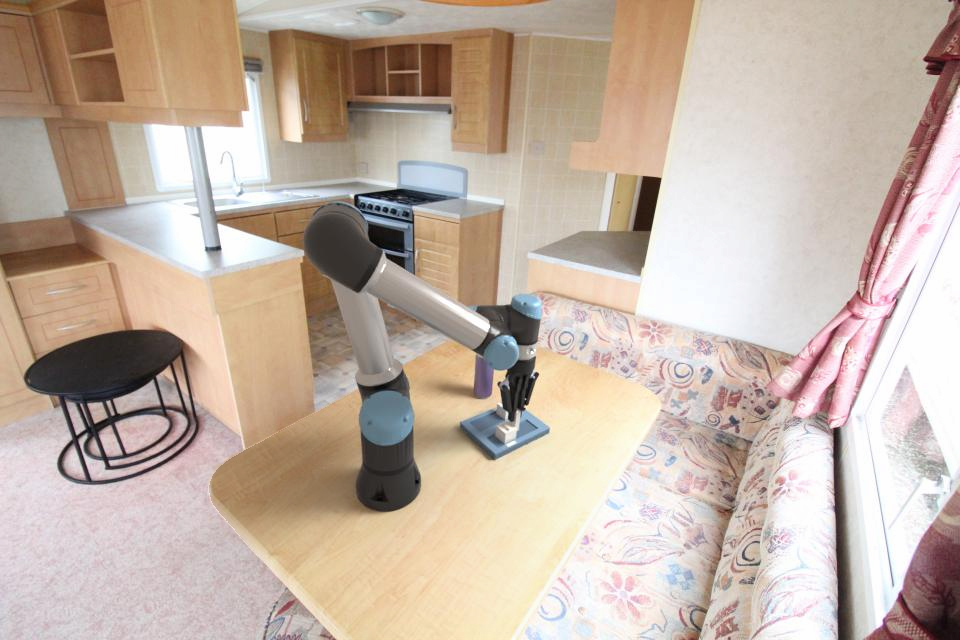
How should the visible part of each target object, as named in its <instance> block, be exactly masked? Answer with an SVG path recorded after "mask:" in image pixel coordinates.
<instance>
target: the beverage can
mask: <svg viewBox="0 0 960 640" xmlns="http://www.w3.org/2000/svg"><path fill="white" fill-rule="evenodd" d="M494 372H495V370H494V369H492V368H491V367H489V365H488V364H487V363H486V362H485V360H484V357H482V356H481V355H479V354H477V353H476V352H475V362H474V374H473V375H474V376H473V377H474V380H473V394H474V396H475V397H476V398H478V399H481V400H482V399H483V400H485V399H488V398H490V397H491V396H492V395H493V386H494V374H495V373H494Z"/></svg>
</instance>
